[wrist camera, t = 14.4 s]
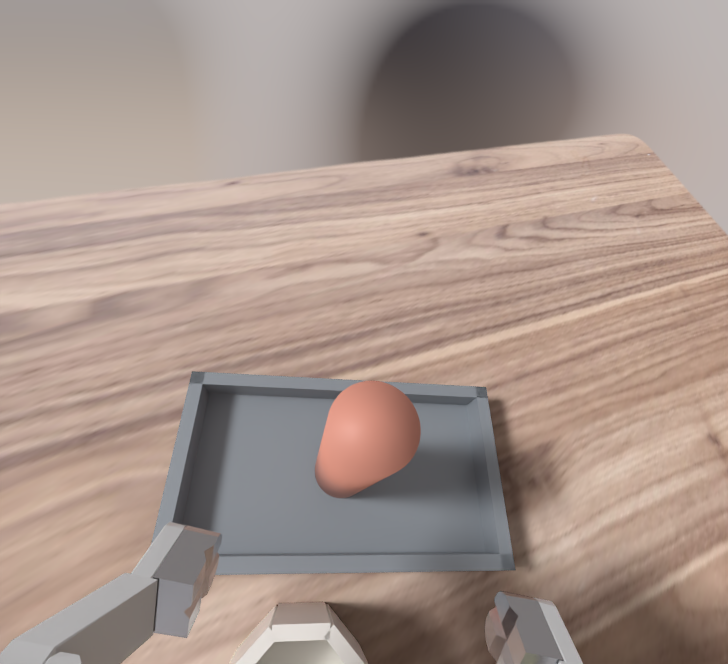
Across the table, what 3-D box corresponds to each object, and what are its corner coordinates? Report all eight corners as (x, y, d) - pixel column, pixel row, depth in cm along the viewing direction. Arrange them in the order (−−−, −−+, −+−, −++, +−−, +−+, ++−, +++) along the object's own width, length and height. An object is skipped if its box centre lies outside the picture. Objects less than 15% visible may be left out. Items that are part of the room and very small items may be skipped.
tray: (471, 397, 28) (485, 387, 26) (495, 565, 23) (515, 570, 21) (201, 384, 26) (192, 371, 23) (160, 570, 21) (143, 576, 18)
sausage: (368, 442, 25) (417, 383, 14) (368, 498, 23) (424, 478, 13) (316, 440, 24) (328, 378, 14) (312, 497, 23) (324, 475, 12)
